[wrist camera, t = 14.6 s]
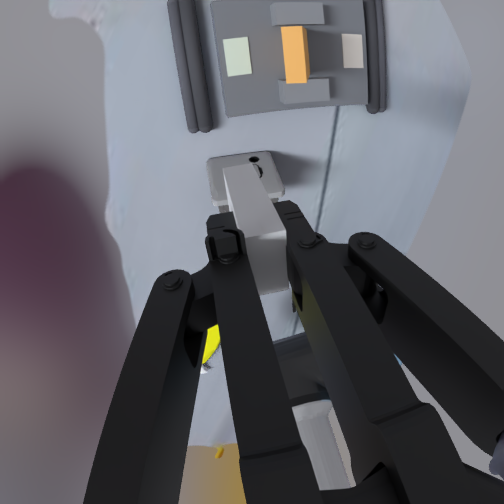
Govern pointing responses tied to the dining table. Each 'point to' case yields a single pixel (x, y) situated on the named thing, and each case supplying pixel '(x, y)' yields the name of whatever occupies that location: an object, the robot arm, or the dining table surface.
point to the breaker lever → (295, 54)
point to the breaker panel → (272, 56)
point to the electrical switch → (258, 159)
